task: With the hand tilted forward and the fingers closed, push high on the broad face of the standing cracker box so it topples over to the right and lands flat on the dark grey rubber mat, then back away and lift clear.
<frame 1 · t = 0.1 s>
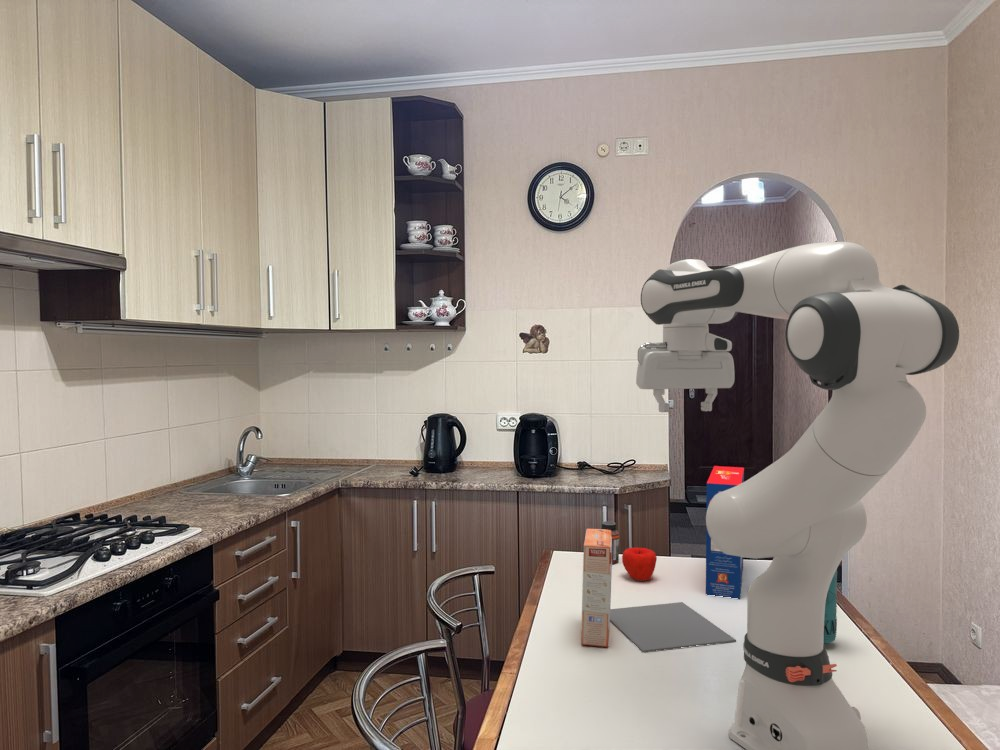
hand: (685, 411, 133), 48 cm above the table, tool pointing down, fingers open, 8 cm apart
beverage bottle: (819, 644, 137), on the table
supplement bottle: (608, 562, 192), on the table
cracker box: (596, 634, 142), on the table
mat: (664, 625, 146), on the table
apple: (639, 579, 177), on the table
pasta box: (725, 580, 177), on the table
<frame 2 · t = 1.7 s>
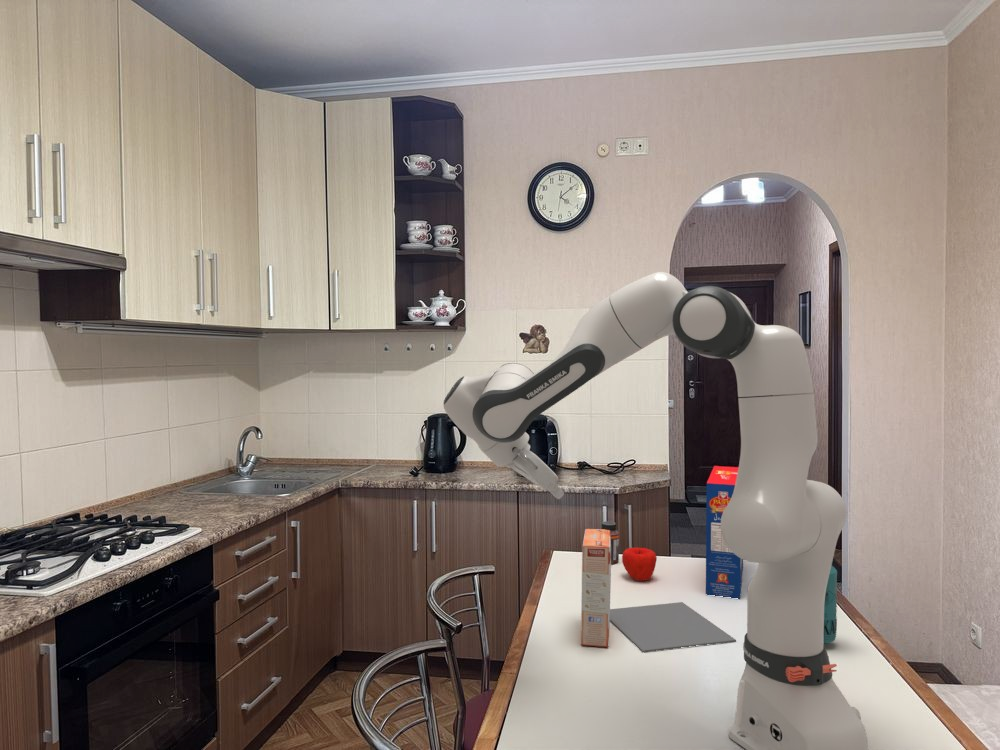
hand: (554, 492, 135), 32 cm above the table, tool tilted 45°, fingers open, 7 cm apart
nothing on the table moved.
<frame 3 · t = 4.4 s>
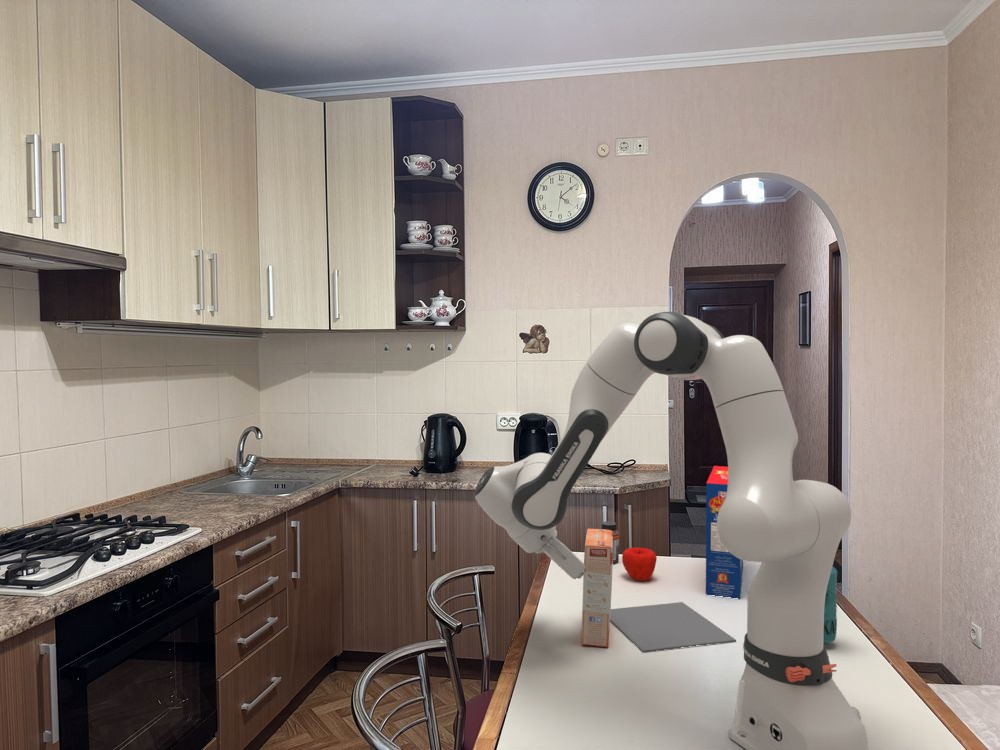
hand: (579, 574, 141), 13 cm above the table, tool tilted 45°, fingers closed
cracker box: (596, 634, 142), on the table, touching gripper
everything else where it was.
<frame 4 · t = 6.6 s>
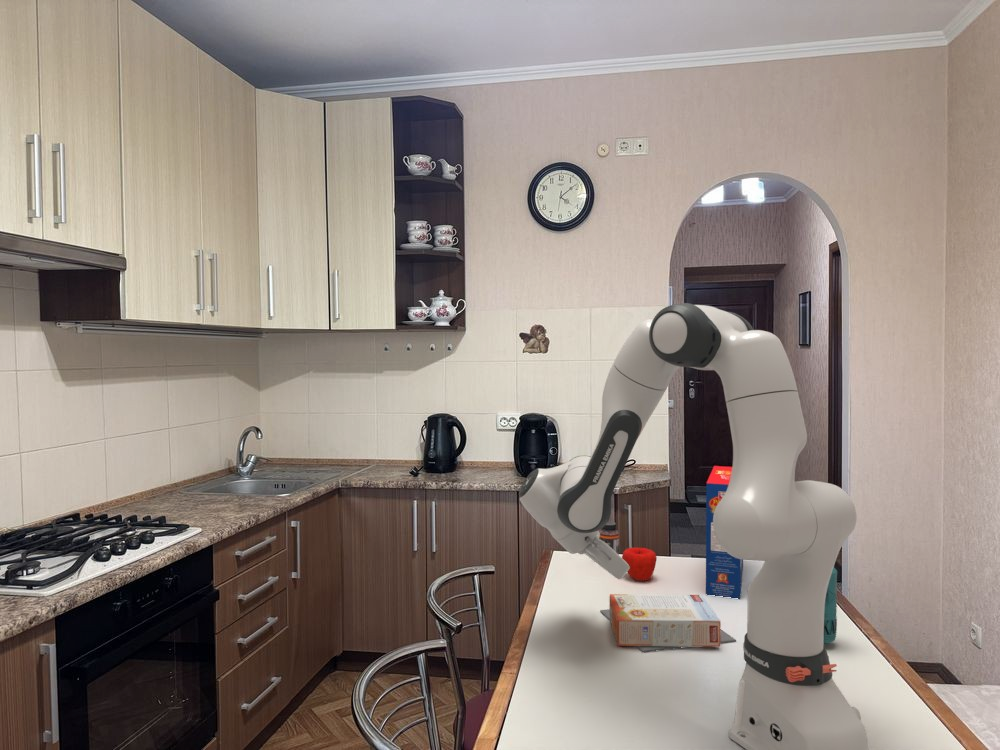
hand: (621, 574, 143), 12 cm above the table, tool tilted 45°, fingers closed
cracker box: (611, 619, 142), point 3 cm above the table, touching mat
everything else where it was.
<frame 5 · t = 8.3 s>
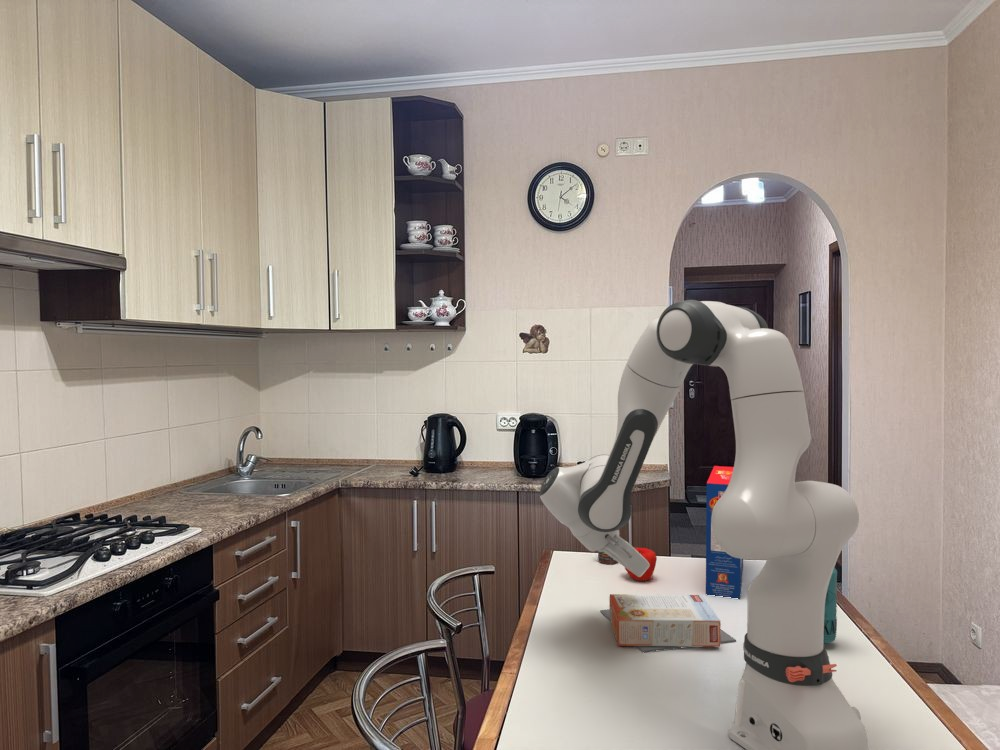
hand: (640, 572, 144), 12 cm above the table, tool tilted 45°, fingers closed
nothing on the table moved.
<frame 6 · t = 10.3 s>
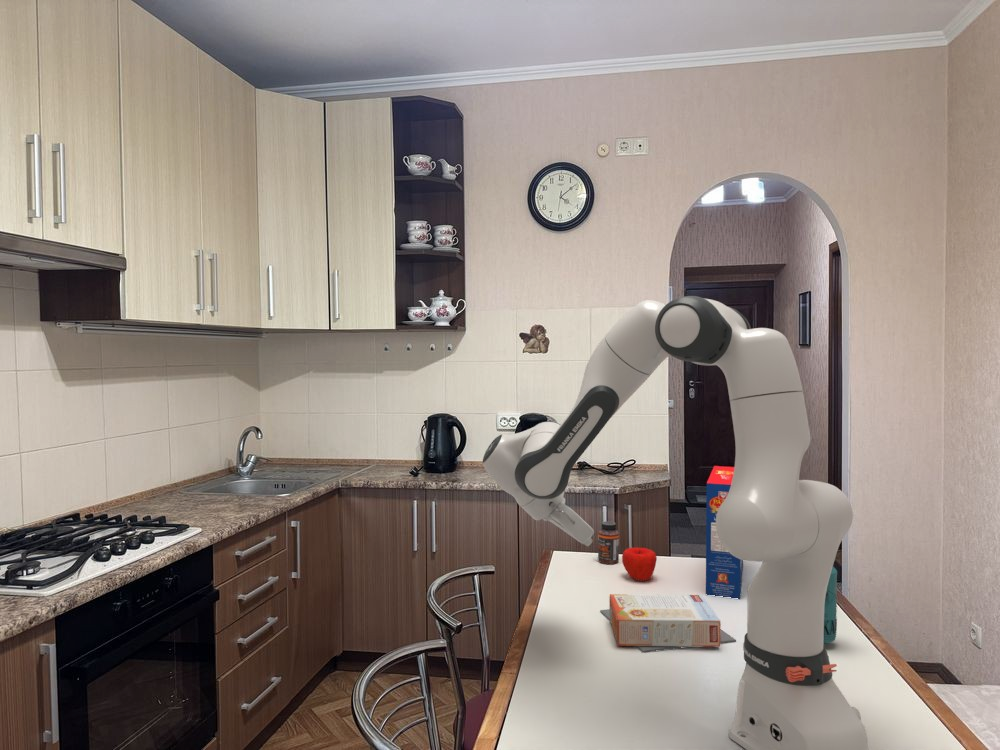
hand: (588, 542, 141), 20 cm above the table, tool tilted 45°, fingers closed
nothing on the table moved.
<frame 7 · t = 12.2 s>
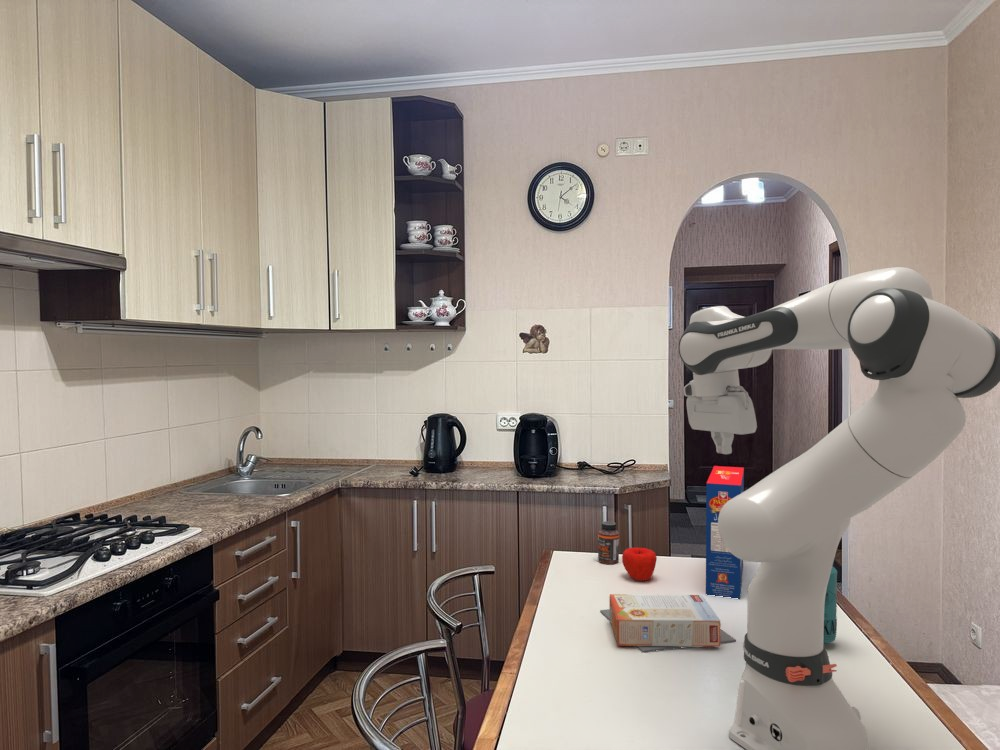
hand: (724, 453, 136), 39 cm above the table, tool pointing down, fingers closed
nothing on the table moved.
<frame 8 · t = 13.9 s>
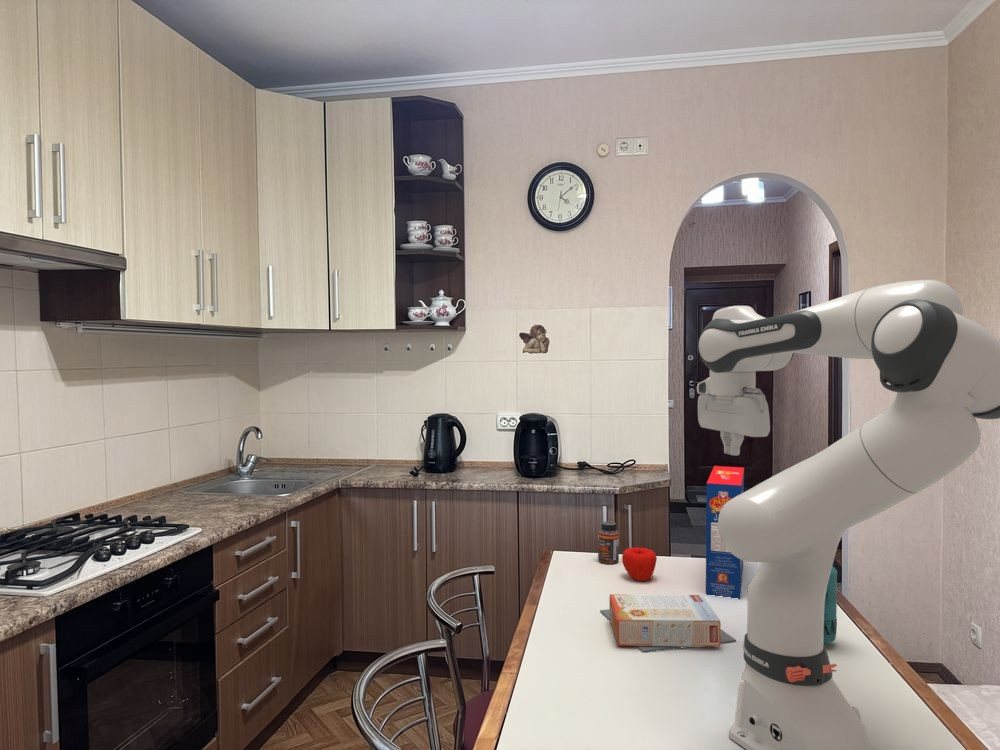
hand: (731, 454, 135), 39 cm above the table, tool pointing down, fingers closed
nothing on the table moved.
at the end: cracker box tilted 89°; cracker box inside the target area (12.5 cm from its centre), point 3.2 cm above the table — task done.
